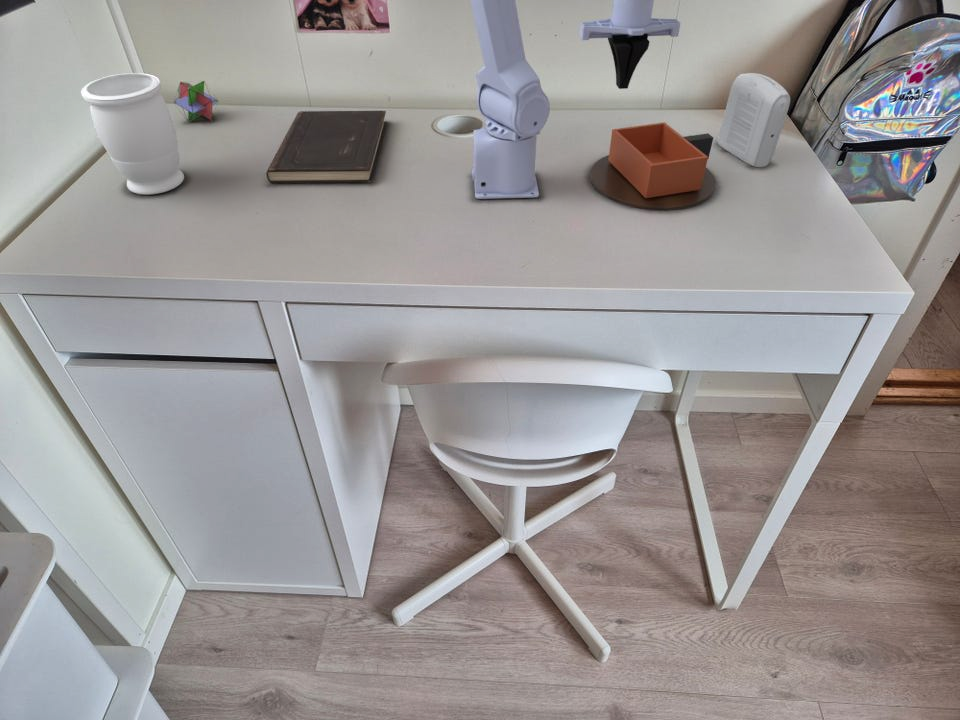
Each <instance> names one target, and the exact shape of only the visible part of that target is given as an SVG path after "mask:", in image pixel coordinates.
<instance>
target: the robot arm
mask: <svg viewBox="0 0 960 720" xmlns="http://www.w3.org/2000/svg"><path fill="white" fill-rule="evenodd" d="M654 1H655V0H613V1H612V10H611V18H607V19H600V20H594V21H584V22H583V21H582V22H580V27H579V38H580V39H581V40H582V41H589V40H590V39H607V41H608V45H609V47H610V50H611V54H612V57H613V63H614V69H615V85H616V87H617V88H618V89H619V90H626V89H627V90H628V88H629V85H630V82H631V80H632V77H633V75H634V72H635V70H636V68H637V66H638V65H639V62H640V61H641V59H642V58H643V56H644V55H645V54H646V52H647V51H648V49H649V47H650V40H649V39H648V38H649V37H664V36H665V37H666V36H670V37H672V38H677V37H679V33H680V28H681V22H680V21H679V20H678V19H677V18H656V17H655V18H654V17H652V14H653V8H654ZM469 3H470V7H471V11H472V16H473V21H474V25H475V29H476V30H475V31H476V33H477V38H478V43H479V46H480V52H481V55H482V60H483V64H484V65H483V66H482V67H481V68H480V69H479V71H478V72H476V75H475V76H476V81H477V92H476V93H477V94H476V107H477V109H478V111H479V113H480V114H481V115H482V116H483V117H484V125H485V126H486V127H483V128H479V129H478V128H477V129H473V137H472V138H473V140H472V141H473V166H472V167H471V180H472V181H474V198H475V199H477V200H488V199H489V200H490V199H491V200H493V199H523V198H524V199H525V198H526V199H527V198H539V197H540V192H539V187H538V182H537V178H536V155H537V138H538V137H537V135H540V133H541V131H542V130H543V128H544V127H545V125H546V124H547V122H548V119H549V116H550V109H551V107H550V105H551V104H550V100H549V98H548V96H547V94H546V93H545V91H544V90H543V88H542V84H541V79H540V77H539V75H537V72H535V70H534V69H533V67H532V66H531V65H530V64H529V62H528V60H527V59H526V55H525V48H524V42H523V36H522V32H521V31H522V29H521V26H520V25H521V24H520V19H519V15H518V8H517V3H516V0H469Z"/></svg>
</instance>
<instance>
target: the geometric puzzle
mask: <svg viewBox="0 0 960 720" xmlns="http://www.w3.org/2000/svg"><path fill="white" fill-rule="evenodd" d="M189 82H193V81H189ZM189 82H185V81H179V84H178V88H177V90H176V93H175V97H174V99H173V100H174V101H172V103H173V104H174V105H176V106H178V107H180V108H182V110H183V113H184V115H183V114H182V115H183V117H185V120H186V121H187V123H190V122H195V121H193V120H195V119H197V118H198V117H200V118H203V119H206V120H207V121H210V122H212V121H213V118H214V113H215V111H216V108H217V104H218V102H219V100H218V98H217V97H216V95H215V94H213V96H215V97H213V96H211V94H210V91H209V89H210V87H209V86H208V84H206V85H205V83H206V81H205V80H202V81H200V82H199V83H197V84H194V85H192V84H191V83H189ZM205 87H206V89H207V92H208V93H206V92H205ZM210 90H211V89H210ZM177 94H178V97H177V98H176V96H177ZM214 105H215V109H214V113H213V107H214ZM185 111H187V114H186V112H185ZM179 112H180V113H182V111H180V110H179Z"/></svg>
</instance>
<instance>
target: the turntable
mask: <svg viewBox="0 0 960 720" xmlns="http://www.w3.org/2000/svg"><path fill="white" fill-rule="evenodd" d="M608 158H609V154H607V155H605V156H603V157H601V158H599V159H598V160H597V161H595V162H594V164H593V165H592V166H591V169H590V173H589V180H590V183H591V185H592V186H593V188H594V189H595V190H596V191H597V192H598V193H600V194H601V195H602V196H604V197H605V198H607V199H609V200H611V201H613V202H615V203H617V204H620V205H623V206H627V207H630V208H635V209H640V210H648V211H661V212H663V211H665V212H666V211H677V210H679V211H680V210H685V209H689V208H690V209H691V208H693V207H696V206H699V205H701V204H704V203H705V202H707V201H708V200H709V199H710V198H711V197H712V196H713V195H714V193H715V191H716V186H717V181H716V178H715V175H714V174H713V173H712V172H711V170H710V169H708V168H707V167H706V169H705V173H704V177H703V181H702V185H701V189H700V190H695V191H689V192H682V193H676V194H670V195H663V196H657V197H651V198H645V197H644V196H643V195H642V194H641V193H640V192H639V191H638V190H637V189H636V188H635V187H634V186H633V185H632V184H631V183H630V182H629V181H628V180H627V179H626V178H625V177H624V176H623V175H622V174H621V173H620V172H619V171H618V170H617V169H616V168H615V167H614V166H613V165H612V164H611V163H610V162H609V161H608Z"/></svg>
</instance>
